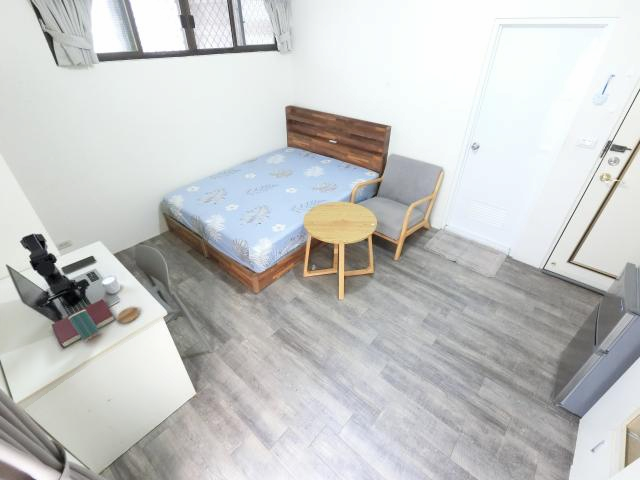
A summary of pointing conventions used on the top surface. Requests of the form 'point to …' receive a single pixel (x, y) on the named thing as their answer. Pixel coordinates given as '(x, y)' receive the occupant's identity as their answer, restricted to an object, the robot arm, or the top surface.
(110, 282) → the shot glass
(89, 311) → the book
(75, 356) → the top surface
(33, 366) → the top surface
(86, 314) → the pencil cup
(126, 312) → the coaster
